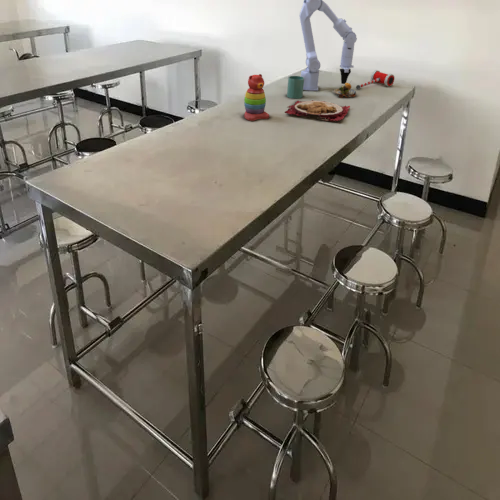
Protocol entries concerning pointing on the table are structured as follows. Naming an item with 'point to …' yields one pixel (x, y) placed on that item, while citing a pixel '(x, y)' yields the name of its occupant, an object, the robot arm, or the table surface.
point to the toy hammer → (379, 79)
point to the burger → (345, 91)
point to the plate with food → (318, 110)
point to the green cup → (295, 87)
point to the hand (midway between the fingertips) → (343, 83)
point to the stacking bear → (255, 99)
